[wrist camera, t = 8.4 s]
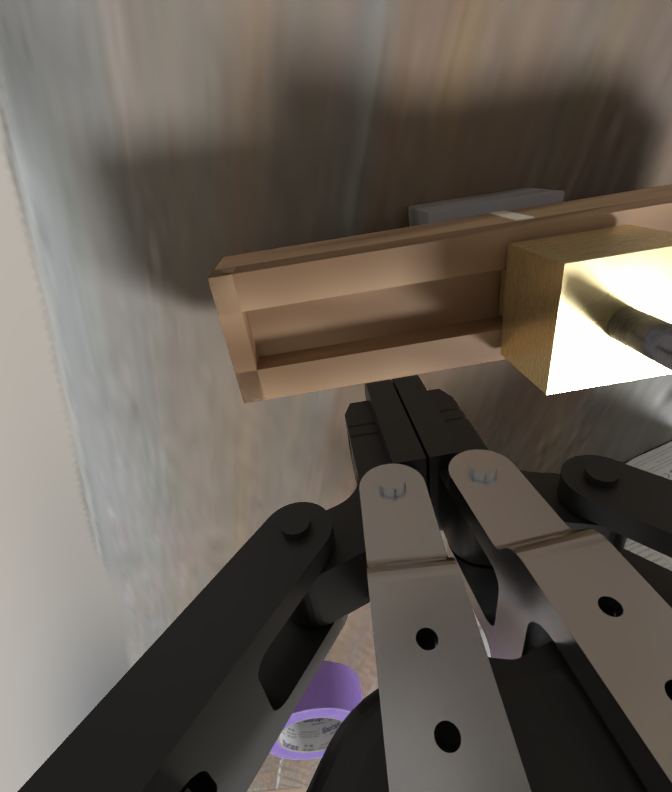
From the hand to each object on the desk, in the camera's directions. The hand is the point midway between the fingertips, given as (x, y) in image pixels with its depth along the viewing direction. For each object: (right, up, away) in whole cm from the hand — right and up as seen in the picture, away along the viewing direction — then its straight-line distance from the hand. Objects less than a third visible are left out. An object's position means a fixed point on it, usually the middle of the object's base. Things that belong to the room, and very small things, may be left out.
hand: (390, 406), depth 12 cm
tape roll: (-5, -35, +38) cm, 52 cm away
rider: (+8, +6, +8) cm, 12 cm away
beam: (+7, +9, +14) cm, 18 cm away
